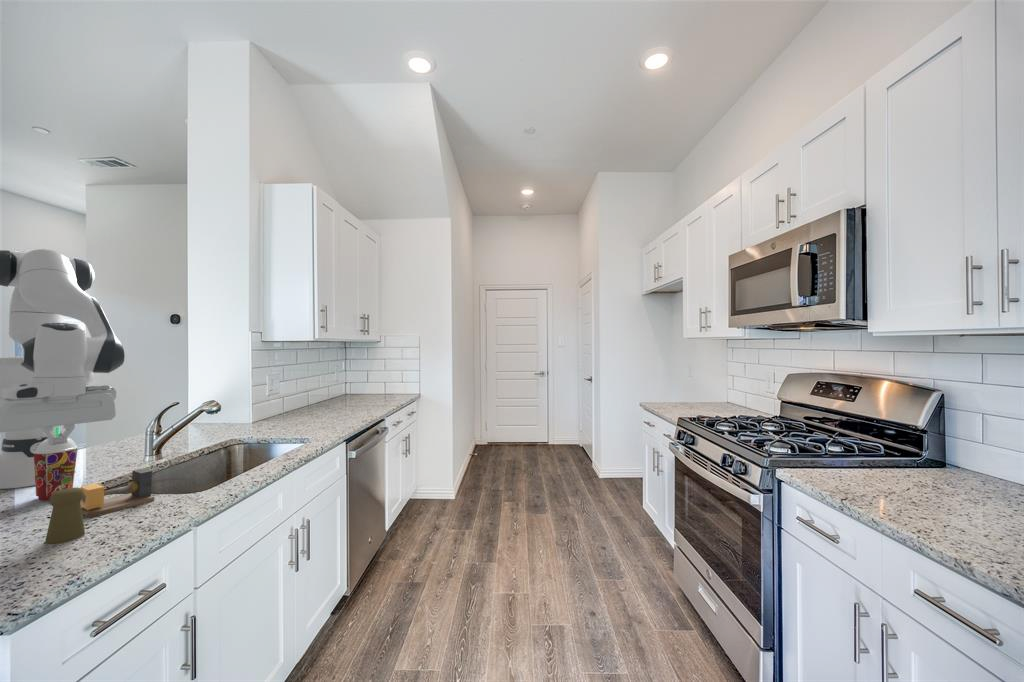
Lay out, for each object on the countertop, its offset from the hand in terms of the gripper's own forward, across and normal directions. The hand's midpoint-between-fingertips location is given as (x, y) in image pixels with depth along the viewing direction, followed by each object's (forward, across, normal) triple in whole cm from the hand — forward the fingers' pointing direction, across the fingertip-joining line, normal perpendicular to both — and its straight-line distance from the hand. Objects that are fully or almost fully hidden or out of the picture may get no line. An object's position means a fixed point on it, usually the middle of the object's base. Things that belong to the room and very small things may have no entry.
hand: (57, 443), depth 97 cm
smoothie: (+19, -5, -22) cm, 30 cm away
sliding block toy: (+19, -11, 0) cm, 22 cm away
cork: (+19, +2, +14) cm, 24 cm away
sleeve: (+18, -7, 0) cm, 19 cm away
